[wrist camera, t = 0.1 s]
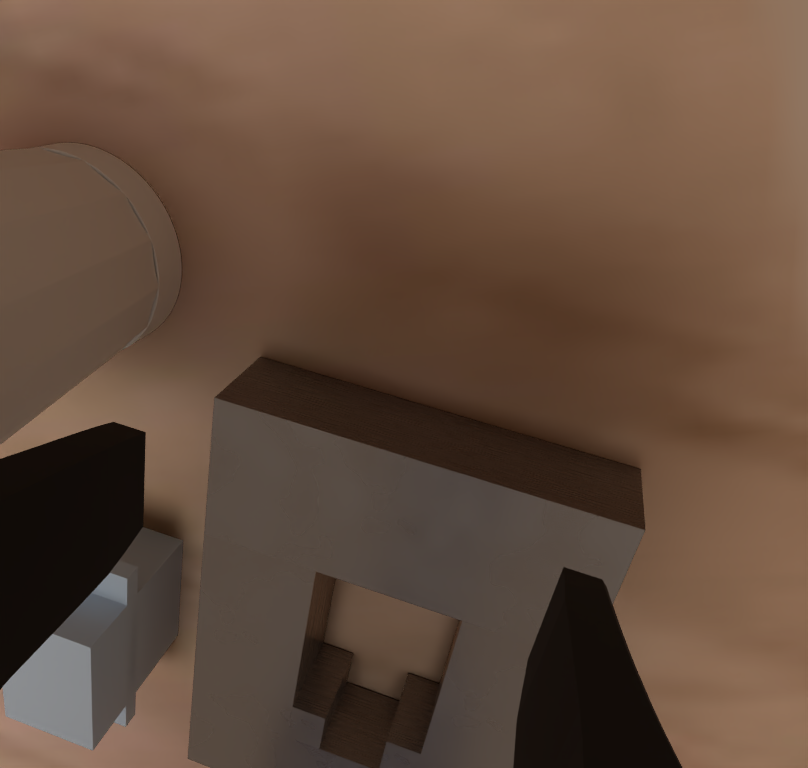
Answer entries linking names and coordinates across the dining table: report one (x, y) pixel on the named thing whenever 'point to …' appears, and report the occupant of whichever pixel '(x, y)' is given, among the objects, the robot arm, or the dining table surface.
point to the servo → (103, 647)
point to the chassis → (382, 569)
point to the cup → (75, 270)
